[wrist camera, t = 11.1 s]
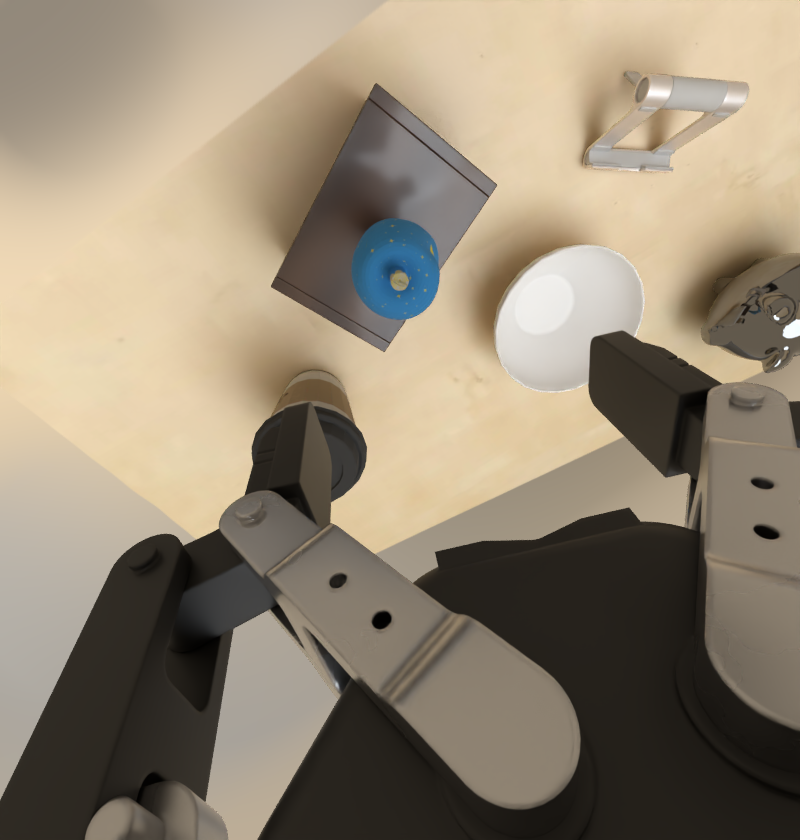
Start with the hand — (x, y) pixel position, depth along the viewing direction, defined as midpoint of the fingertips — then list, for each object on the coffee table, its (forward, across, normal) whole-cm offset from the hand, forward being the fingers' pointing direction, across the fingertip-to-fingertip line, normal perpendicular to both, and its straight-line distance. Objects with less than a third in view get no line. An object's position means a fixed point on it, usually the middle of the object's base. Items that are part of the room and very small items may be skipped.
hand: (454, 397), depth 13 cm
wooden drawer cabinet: (+38, 0, 0) cm, 38 cm away
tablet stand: (+38, -27, -3) cm, 47 cm away
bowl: (+38, -18, +13) cm, 44 cm away
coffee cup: (+38, +11, +18) cm, 44 cm away
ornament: (+26, 0, 0) cm, 26 cm away
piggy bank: (+38, -42, +18) cm, 59 cm away
